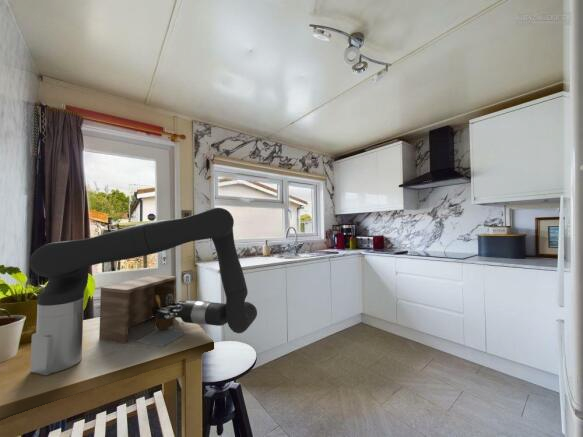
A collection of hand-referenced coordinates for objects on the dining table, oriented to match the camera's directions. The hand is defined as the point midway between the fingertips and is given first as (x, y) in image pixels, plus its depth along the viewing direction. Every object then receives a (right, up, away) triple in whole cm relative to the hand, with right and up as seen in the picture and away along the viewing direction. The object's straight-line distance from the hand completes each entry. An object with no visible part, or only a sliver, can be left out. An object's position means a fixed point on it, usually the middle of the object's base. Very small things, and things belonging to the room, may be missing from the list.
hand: (159, 307), depth 88 cm
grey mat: (+4, -8, -6) cm, 11 cm away
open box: (-8, -8, +2) cm, 11 cm away
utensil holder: (+3, -7, -1) cm, 7 cm away
